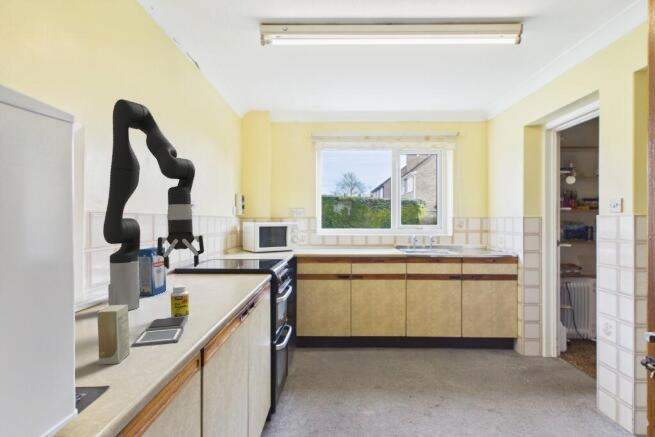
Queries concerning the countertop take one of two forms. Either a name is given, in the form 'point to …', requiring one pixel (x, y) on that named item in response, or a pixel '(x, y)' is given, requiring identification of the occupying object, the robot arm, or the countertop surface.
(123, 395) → the countertop surface
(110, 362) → the skincare box
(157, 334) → the grey square pad
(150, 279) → the milk carton
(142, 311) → the countertop surface
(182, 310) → the supplement bottle
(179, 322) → the ink pad
